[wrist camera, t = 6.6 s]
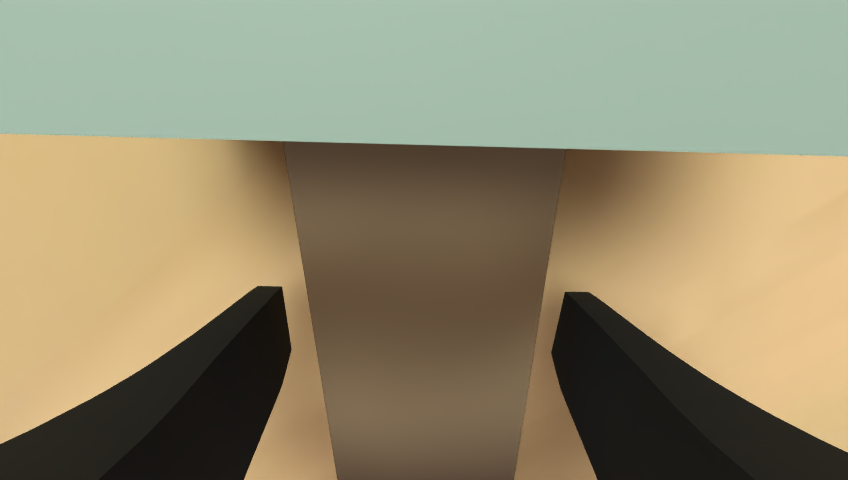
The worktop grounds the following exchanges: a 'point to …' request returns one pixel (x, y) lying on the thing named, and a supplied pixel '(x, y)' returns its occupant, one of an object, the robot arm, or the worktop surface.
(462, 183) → the brown wooden bar
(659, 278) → the worktop surface
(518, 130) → the sage shelf
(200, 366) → the robot arm
